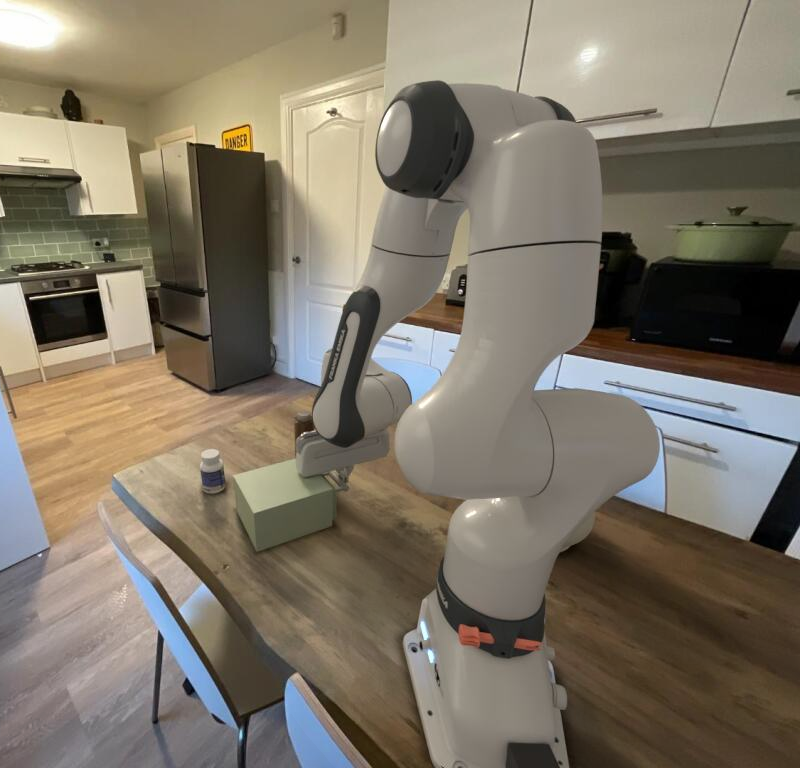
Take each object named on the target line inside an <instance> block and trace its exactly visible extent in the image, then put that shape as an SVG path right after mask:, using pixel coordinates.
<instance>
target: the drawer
mask: <svg viewBox="0 0 800 768" xmlns="http://www.w3.org/2000/svg"><path fill="white" fill-rule="evenodd" d="M320 475H321V476H322V478H323V479H324V480H325V481H326V482H327V483H328V484H329V485H330V487H331V488H332V489H333V506H332V521H333V520H336V519H337V493H340V492H344V493H346V492H348V491H349V490H350V486H349V485H348V483H345V482H344V481H343V480H342V479H341V478H340V477H339V476H338V473H337V472H336V471H335V470H333V471H329V472H325V473H322V474H320ZM327 476H329V477H330V479H332V480H333V482H335V484H336V485H337V486H338V487H336V486H334V485H333V484H332V483H331V481H329V479H327Z"/></svg>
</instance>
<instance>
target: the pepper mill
mask: <svg viewBox="0 0 800 768" xmlns="http://www.w3.org/2000/svg"><path fill="white" fill-rule="evenodd" d="M293 429H294V430H293V432H294V459H295V458H296V452H297V451H296V439H297V438H298V437H299V436H301V435H302V433H304V432H311V431H314V430H315V428H314V425H313V422H312V411H310V410H308V409H301V410H299V411H297V413H296V416H295V417H294V418H293ZM301 438H302V437H301Z"/></svg>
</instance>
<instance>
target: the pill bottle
mask: <svg viewBox="0 0 800 768" xmlns="http://www.w3.org/2000/svg"><path fill="white" fill-rule="evenodd" d="M200 458H201V462H200V463H199V472H200V478H201V486H202V490H203V492H204V493H207V494H212V495H213V494H217V493H220V492H223V491H224V489H225V488H226V474H225V467H224V461H223V460H222V459H221V456H220V451H219V450H218V449H215V448H209V449H206V450H204V451H202V452H201V454H200Z"/></svg>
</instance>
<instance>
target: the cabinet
mask: <svg viewBox="0 0 800 768" xmlns="http://www.w3.org/2000/svg"><path fill="white" fill-rule="evenodd" d="M232 479H233V489H234V498H235V499H234V500H235V508H236V509H235V510H236V513H237V514H238V516H239V518H240V520H241V522H242V524H243V526H244V528H245V531H246V533H247V535H248V537H249V539H250V541H251V543H252V546H253V547H254V550H255V551H256V552H257V553H258V552H262V551H264V550H267V549H270V548H272V547H276V546H278V545H281V544H284V543H287V542H289V541H293V540H295V539H299V538H301V537H304V536H308V535H310V534H313V533H316V532H319V531H322V530H324V529H328V528H330V527H333V520H332V506H333V489H332V488H331V487H330V485H329V484H328V483H327V482H326V481H325V480H324V479H323V478H322V476H321V475H320V474H318V475H314V476H310V477H303V476H302V475H301V474H300V473H299V472H298V470H297V468H296V458H295V457H294V458H292V459H289V460H285V461H281V462H277V463H273V464H269V465H266V466H262V467H258V468H255V469H250V470H247V471H244V472H241V473H236V474H233V475H232Z"/></svg>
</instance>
